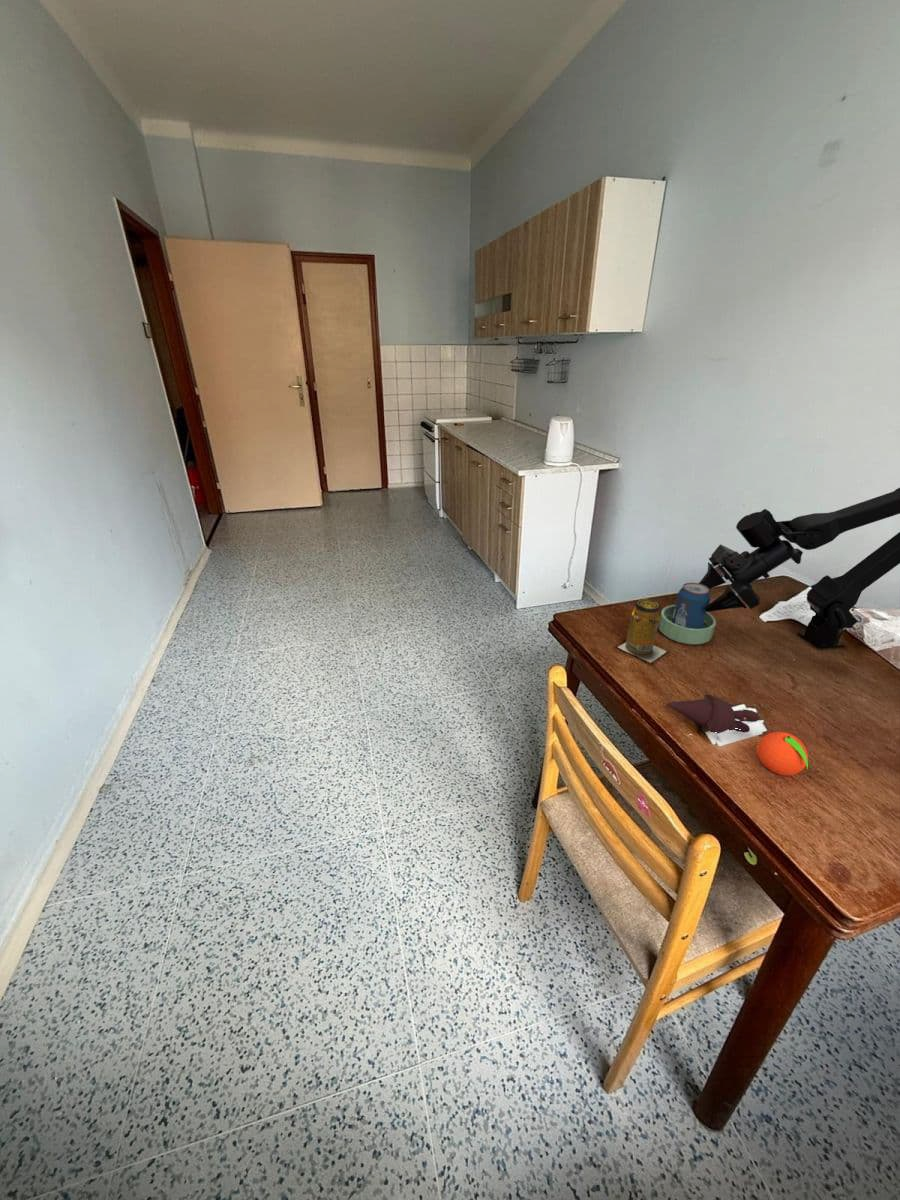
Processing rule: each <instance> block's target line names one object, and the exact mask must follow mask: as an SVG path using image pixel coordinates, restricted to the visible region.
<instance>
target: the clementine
mask: <svg viewBox="0 0 900 1200" xmlns="http://www.w3.org/2000/svg"><path fill="white" fill-rule="evenodd" d="M756 747H757V748H756V750H757V752H756V753H757V756H758V758H759V761H760V762H761V764H762V765H763V766H764V767H765V768H766V769H767V770H769V771H771V772H772V773H775V774H778V775H781V776H793V775H794V776H795V775H796V774H799V773H801V772H802V771H803V770H804V769H805V768H806V769H809V768H808V767H809V763H808V760H809V754H808V750H807V748H806V746H805V744H804V743H803V741H802V740H800V739H799V738H798V737H796V736H795V735H793V734H792V733H789V732H784V731H773V732H769V733H766V734H765V735H763V736H762V737H761V738H760V740H759V741H758V744H757V746H756Z"/></svg>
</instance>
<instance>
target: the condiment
mask: <svg viewBox="0 0 900 1200" xmlns="http://www.w3.org/2000/svg"><path fill="white" fill-rule="evenodd" d="M660 610H661V606H660V604H659V603H658V602H656V601H655V600H653V599H646V598H645V599H644V598H643V599H638V600H637V601H636V602H635V605H634V608H633V611H632V612H631V615H630V619H629V625H628V629H627V635H626V641H625V642H624V643H622V644H620V645H618V646H617V648H618V649H620V650H622V651H624V652H626V653H628V654H630V655H632V656H635V657H638V658H639V659H641V660H642V661H643V660H644V661H646V662H647V663H650V664H651V663H652V662H654V661H655V660H657V659H659V658H660V657H661V656H663V655H664V654H665V653H667V650H665V649H663V648H661V647H660V646H659V647H658V646H657V645H655V642H656V638H657V637H656V635H657V631H658V629H659V627H658V624H659V620H660Z"/></svg>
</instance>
